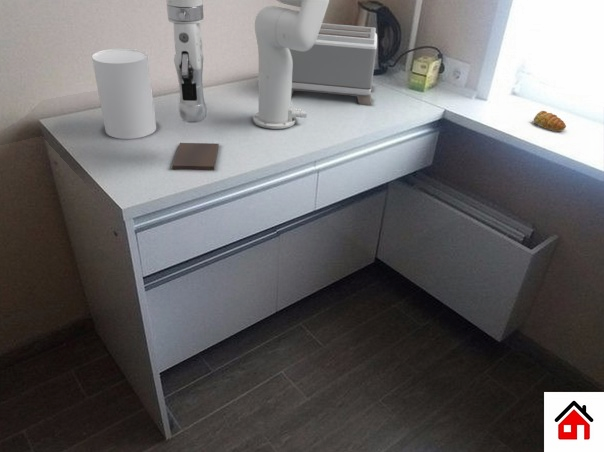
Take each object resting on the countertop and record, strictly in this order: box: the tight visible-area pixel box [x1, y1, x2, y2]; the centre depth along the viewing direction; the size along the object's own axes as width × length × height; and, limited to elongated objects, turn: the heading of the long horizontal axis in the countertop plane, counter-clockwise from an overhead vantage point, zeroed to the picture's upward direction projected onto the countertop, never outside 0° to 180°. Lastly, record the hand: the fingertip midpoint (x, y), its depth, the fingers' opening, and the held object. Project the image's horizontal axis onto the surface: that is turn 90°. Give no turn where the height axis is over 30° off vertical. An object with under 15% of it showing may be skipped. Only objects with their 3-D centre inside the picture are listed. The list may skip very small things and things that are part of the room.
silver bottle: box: [173, 36, 208, 124], centre depth 114 cm, size 6×7×20 cm
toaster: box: [289, 22, 378, 106], centre depth 166 cm, size 19×34×20 cm, turn 82°
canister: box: [91, 47, 157, 140], centre depth 132 cm, size 14×14×20 cm
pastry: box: [533, 110, 567, 132], centre depth 154 cm, size 9×7×4 cm
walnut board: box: [171, 142, 220, 171], centre depth 125 cm, size 10×13×1 cm
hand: (191, 94), depth 116 cm, fingers closed on silver bottle, 5 cm apart
